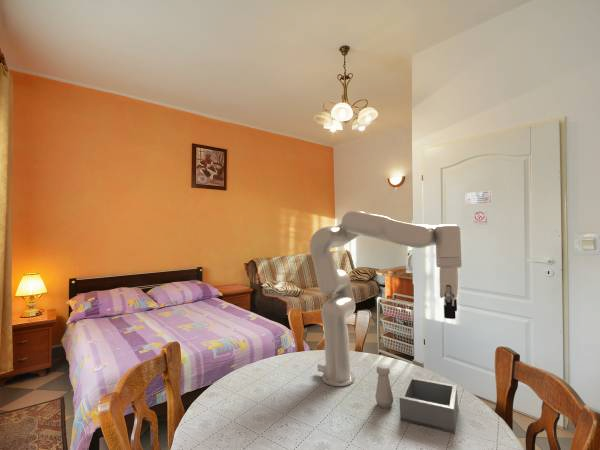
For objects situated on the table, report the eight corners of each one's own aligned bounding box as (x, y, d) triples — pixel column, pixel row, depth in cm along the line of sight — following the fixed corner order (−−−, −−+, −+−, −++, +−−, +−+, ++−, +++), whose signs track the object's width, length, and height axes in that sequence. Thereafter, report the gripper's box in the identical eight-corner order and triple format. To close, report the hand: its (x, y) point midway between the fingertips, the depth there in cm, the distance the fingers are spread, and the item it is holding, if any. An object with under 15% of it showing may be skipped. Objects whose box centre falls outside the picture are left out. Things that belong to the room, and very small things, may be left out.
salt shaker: (394, 410, 104) (392, 370, 104) (376, 409, 105) (374, 369, 105) (392, 401, 110) (391, 362, 110) (375, 400, 111) (373, 362, 111)
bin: (400, 420, 99) (399, 397, 99) (409, 397, 112) (408, 376, 112) (454, 433, 91) (453, 409, 92) (457, 407, 105) (456, 385, 105)
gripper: (438, 259, 116) (440, 307, 115) (433, 265, 100) (435, 320, 100) (462, 259, 112) (464, 309, 112) (460, 265, 97) (462, 323, 97)
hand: (450, 314), depth 106 cm, fingers open, 9 cm apart
